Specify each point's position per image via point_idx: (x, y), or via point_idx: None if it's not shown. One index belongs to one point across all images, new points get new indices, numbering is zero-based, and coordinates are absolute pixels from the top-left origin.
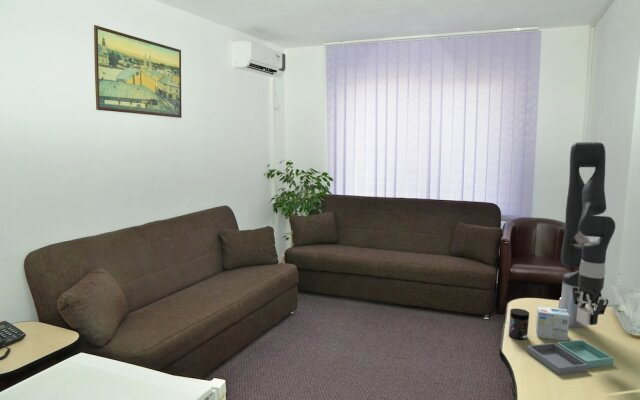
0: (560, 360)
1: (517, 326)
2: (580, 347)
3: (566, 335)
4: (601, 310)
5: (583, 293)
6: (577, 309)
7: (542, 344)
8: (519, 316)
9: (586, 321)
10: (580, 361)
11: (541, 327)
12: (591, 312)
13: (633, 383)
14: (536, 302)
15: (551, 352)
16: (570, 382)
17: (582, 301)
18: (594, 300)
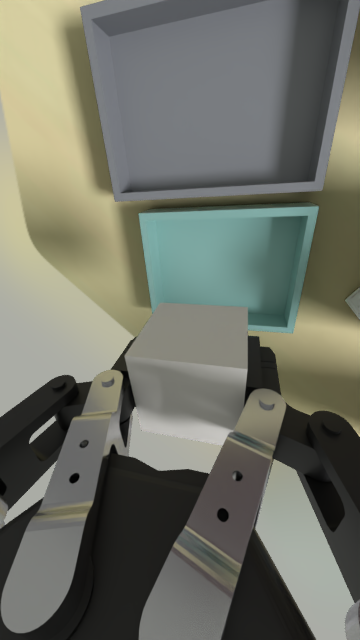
0: (214, 144)
1: None
2: (280, 307)
3: (357, 309)
4: (61, 434)
5: (142, 628)
6: (247, 360)
7: (335, 96)
8: None
9: (151, 316)
10: (144, 192)
11: None
12: (108, 380)
13: (80, 287)
14: None
15: (290, 152)
16: (66, 66)
17: (221, 461)
18: (23, 512)
